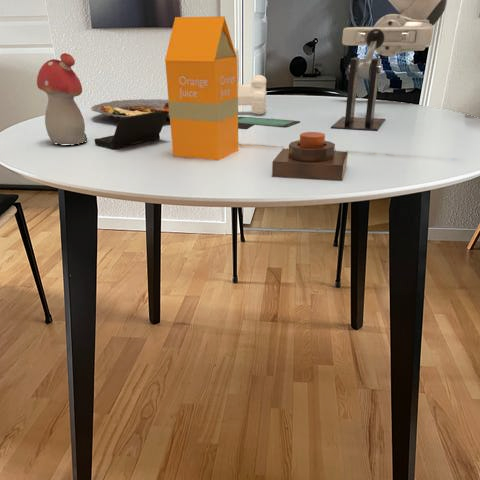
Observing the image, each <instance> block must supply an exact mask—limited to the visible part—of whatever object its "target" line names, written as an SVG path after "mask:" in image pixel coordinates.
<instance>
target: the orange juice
mask: <svg viewBox="0 0 480 480" xmlns="http://www.w3.org/2000/svg"><path fill="white" fill-rule="evenodd" d="M234 49H235V47H234V44H233V41H232V37H231V34H230V31H229V27H228V24H227V20H226V16H174V21H173V25H172V28H171V34H170V37H169V41H168V45H167V50H166V54H165V58H164V62H165V74H166V86H167V100H169V101H168V104H169V116H170V118H169V123H170V136H171V143H172V144H171V146H172V147H171V148H172V156H173V157H179V158H188V159H202V160H211V161H221V160H222V159H225V158H227V157H228V156H231V155H234V153H236V152H238V151H239V128H238V117H239V105H238V87H237V57H236V54H235V51H234Z"/></svg>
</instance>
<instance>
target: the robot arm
mask: <svg viewBox="0 0 480 480" xmlns="http://www.w3.org/2000/svg"><path fill="white" fill-rule="evenodd" d="M387 1H388V2H389V3H390V4H391V5H392V6H393V8H394V9H395V10H396V11H397V12H398V13H388V14H386V15H384V16H381V18H379V19H378V20H377V21H376V23H375V24H374V25H373V26H350V27H344V28H343V30H342V37H341V38H342V39H341V40H342V41H341V43H342V45H343V46H368V45H367V43H366V37H367V35H368V33H369V32H370V31H371V30H373V29H380V30H381V31H382V32H383V33H384V42H383V44H382V45H381V46H380V47H379V48H377V49H375V51H374V52H376V53H377V54H379V55H381V56H384V57H391V56H394V55H399V54H403V53H405V52H407V53H409V52H419V51H421V52H422V51H425V49H426V48H429V47H430V46H431V45H432V40H433V39H432V38H433V34H434V26H435V25H436V23H437V22H438V21H439V19H440V18H441V16H442V15H443V13H444V12H445V10H446V7H447V3H448V2H447V1H448V0H387Z"/></svg>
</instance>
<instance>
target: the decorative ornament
mask: <svg viewBox="0 0 480 480" xmlns="http://www.w3.org/2000/svg"><path fill="white" fill-rule="evenodd" d="M59 58H60V59H57V58H56V59H55V58H52V59H49V60H47V61H46V62H44V63H43V64H42V66H41V67H40V69H39V71H38V73H37V77H36V86H37V89H39V90H40V91H43V92H44V93H45V94H46V95H47V100H48V101H47V105H46V109H45V113H44V114H45V115H44V124H45V130H46V133H47V136H48V137H49V140H50V141H51V142H52V143H53V144H54V143H57V144H78V143H82V142H85V141H86V142H88V137H87V134H86V133H85V132H86V125H85V123H86V122H85V118H84V116H83V113H82V112H81V109H80V108H79V105H78V104H77V103H76V101H75V97H79V96H80V95H82V93H83V86H82V83H81V80H80V78H79V76H78V75H77V73H76V72H75V71H74V70H73V68H72V67H74V65H75V63H76V60H75V58H74V57H73V56H72V55H71V54H69V53H66V52H64V53H61V54H60V56H59ZM57 144H56V145H57ZM78 145H79V144H78Z"/></svg>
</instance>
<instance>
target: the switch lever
mask: <svg viewBox="0 0 480 480" xmlns="http://www.w3.org/2000/svg"><path fill="white" fill-rule="evenodd" d="M383 42H384V33H383V32H382V31H381V30H380V29H373V30H371V31H370V32H369V33H368V35H367V37H366V43H367V45H366V46H367V47H368V49H367V51H366V54H365V56H364V58H360V61H359V65H358V77H357V79H358V80H370V76H371V67H372V60H373V57H374V54H375V52H376V51H375V49H377V48H379V47H380V46H381V45H382V44H383Z"/></svg>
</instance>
